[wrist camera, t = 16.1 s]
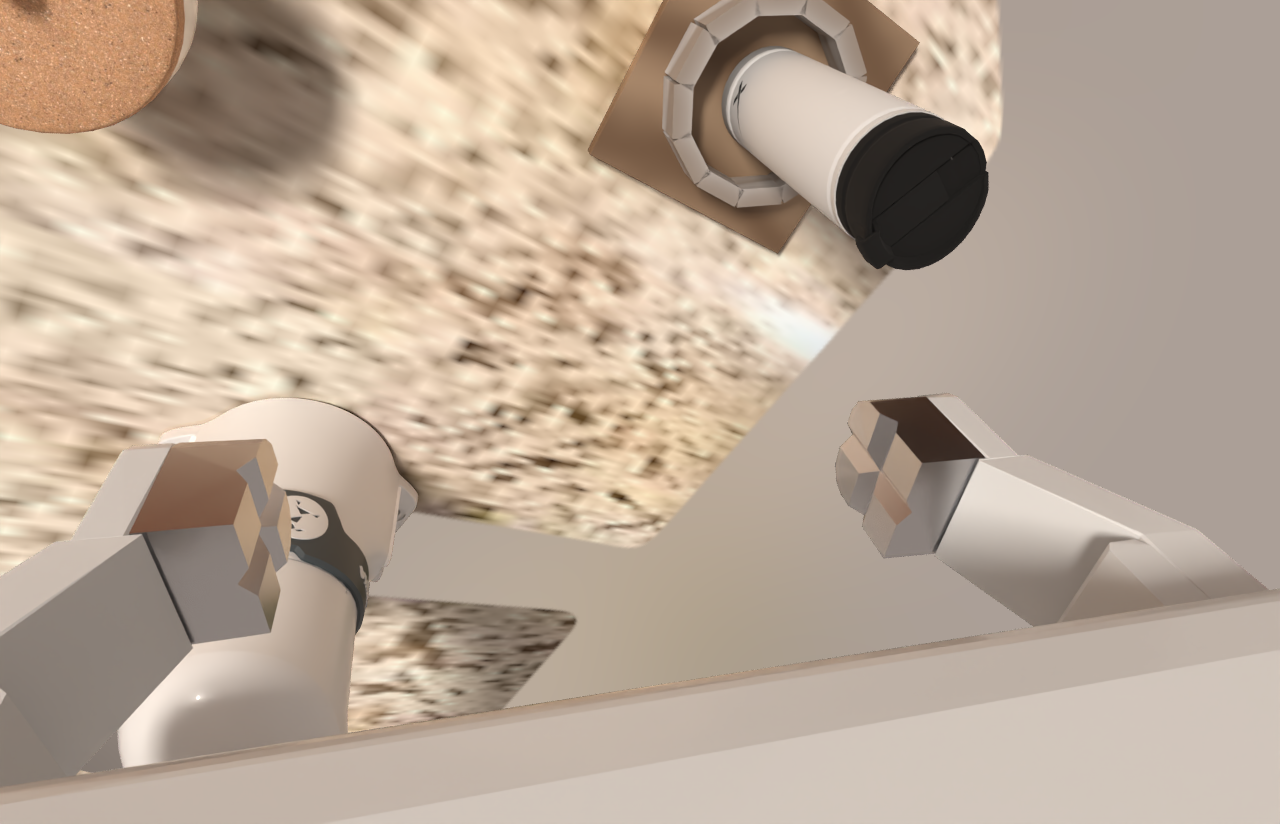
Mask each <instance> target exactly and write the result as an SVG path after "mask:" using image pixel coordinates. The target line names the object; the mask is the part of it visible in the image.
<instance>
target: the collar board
mask: <svg viewBox="0 0 1280 824" xmlns="http://www.w3.org/2000/svg"><path fill="white" fill-rule="evenodd" d="M919 43H920V42H918V41H917V40H916V39H915V38H913V37H912V36H911V35H910V34H908V33H907V32H906V31H905V30H903V29H902V28H901V27H900V26H898V25H897V24H896V23H895V22H893V21H892V20H891V19H890V18H889V17H887V16H886V15H885V14H884V13H882V12H881V11H880V10H879V9H877V8H876V7H875V6H874V5H872V4H871V3H870V2H869V1H867V0H663V2H662V4H661V6H660V8H659V10H658V12H657V14H656V16H655V18H654V20H653V22H652V24H651V26H650V28H649V30H648V32H647V34H646V36H645V38H644V40H643V42H642V44H641V46H640V48H639V49H638V51H637V53H636V55H635V57H634V59H633V61H632V63H631V65H630V67H629V69H628V71H627V73H626V75H625V77H624V79H623V81H622V83H621V85H620V87H619V89H618V91H617V93H616V95H615V97H614V99H613V101H612V103H611V105H610V107H609V109H608V111H607V113H606V115H605V117H604V119H603V121H602V123H601V125H600V127H599V129H598V131H597V133H596V135H595V137H594V139H593V141H592V143H591V145H590V147H589V149H588V152H589V153H590V155H592V156H594V157H596V158H598V159H599V160H601V161H603V162H605V163H607V164H609V165H611V166H613V167H615V168H616V169H618V170H620V171H622V172H624V173H626V174H628V175H630V176H632V177H634V178H635V179H637V180H639V181H641V182H643V183H645V184H647V185H649V186H651V187H653V188H654V189H656V190H658V191H660V192H662V193H664V194H666V195H668V196H670V197H671V198H673V199H675V200H677V201H679V202H681V203H683V204H685V205H687V206H689V207H690V208H692V209H694V210H696V211H698V212H700V213H702V214H704V215H706V216H708V217H709V218H711V219H713V220H715V221H717V222H719V223H721V224H723V225H725V226H726V227H728V228H730V229H732V230H734V231H736V232H738V233H740V234H742V235H744V236H745V237H747V238H749V239H751V240H753V241H755V242H757V243H759V244H761V245H763V246H764V247H766V248H768V249H770V250H772V251H774V252H776V253H778V252H779V251H780V250H781V248H782V247H783V245H784V244H785V242H786V241H787V239H788V238H789V236H790V235H791V233H792V232H793V230H794V229H795V227H796V226H797V224H798V223H799V221H800V220H801V218H802V217H803V215H804V214H805V212H806V211H807V209H808V208H809V206H810V205H811V203H809V202H808V201H807V200H806V199H805V198H803V197H802V196H801V195H800V194H799V193H798V192H796V191H795V190H794V189H793V188H792V187H790V186H789V185H788V184H787V183H786V182H784V181H783V180H782V179H781V178H780V177H779V176H777V175H776V174H775V173H774V172H773V171H771V170H770V169H769V168H768V167H767V166H765V165H764V164H763V163H762V162H761V161H759V160H758V159H757V158H756V157H755V156H754V155H752V154H751V153H750V152H749V151H748V150H746V149H745V148H744V147H743V146H742V145H740V144H739V143H738V142H737V141H736V140H734V138H733V137H732V136H731V135H730V134H729V132H728V130H727V128H726V126H725V124H724V120H723V117H722V107H721V104H722V95H723V91H724V88H725V84H726V82H727V80H728V78H729V76H730V74H731V73H732V71H733V70H734V68H735V67H736V65H737V64H738V63H739V62H740V61H741V60H742V59H743V58H745V57H746V56H747V55H749V54H750V53H752V52H754V51H756V50H758V49H760V48H764V47H768V46H781V47H785V48H789V49H791V50H793V51H796V52H798V53H800V54H802V55H805V56H807V57H809V58H811V59H813V60H816V61H818V62H820V63H822V64H825V65H827V66H829V67H831V68H833V69H836V70H838V71H840V72H842V73H845V74H847V75H849V76H851V77H854V78H856V79H858V80H860V81H862V82H865V83H867V84H869V85H871V86H874V87H876V88H878V89H880V90H882V91H885V92H887V91H888V89H889V88H890V86H891V85H892V83H893V82H894V80H895V79H896V77H897V76H898V74H899V73H900V71H901V70H902V68H903V67H904V65H905V64H906V62H907V61H908V59H909V58H910V56H911V55H912V53H913V52H914V51H915V49H916V48H917V46H918V45H919Z"/></svg>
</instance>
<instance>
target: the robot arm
mask: <svg viewBox="0 0 1280 824" xmlns="http://www.w3.org/2000/svg"><path fill="white" fill-rule="evenodd" d="M847 424H848V426H849V428H850V430H851V432H852V435H851V436H850V437H849V438H848V439H847V440H846V441H845V443H843V444H842V445H841V446H840V448H839V452H838V456H837V460H836V463H835V467H836V481H837V484H838V487H839V490H840V493H841V495H842V497H843V498H844V499H845V501H846V503H847V504H848V506H850V507H852V508H853V509H855V510H857V511H859V512H860V513H862V514H864V519H863V524H862V527H863V528H864V530H865V531H866V533H867V534H868V536H869V537H870V539H871V540H872V542H873V543H874V545H875V546H876V548H877V549H878V551H879V552H880V554H881V555H882V557H883V558H891V557H902V556H912V555H923V554H934V553H935V557H937V558H938V559H939V560H941V561H942V562H943V563H945V564H946V565H948V566H949V567H950V568H952V569H953V570H955V571H956V572H957V573H959V574H960V575H962V576H963V577H965V578H966V579H967V580H969V581H970V582H971V583H973V584H974V585H976V586H977V587H979V588H980V589H981V590H983V591H984V592H986V593H987V594H988V595H990V596H991V597H993V598H994V599H995V600H997V601H998V602H1000V603H1001V604H1003V605H1004V606H1005V607H1007V608H1008V609H1009V610H1011V611H1012V612H1014V613H1015V614H1017V615H1018V616H1019V617H1021V618H1022V619H1024V620H1025V621H1026V622H1028V623H1029V624H1030V625H1032V626H1033V627H1028V628H1022V629H1015V630H1010V631H1002V632H997V633H989V634H983V635H977V636H971V637H964V638H957V639H951V640H945V641H939V642H931V643H925V644H918V645H913V646H906V647H900V648H893V649H886V650H880V651H873V652H867V653H861V654H854V655H848V656H841V657H835V658H828V659H822V660H815V661H809V662H802V663H797V664H790V665H783V666H777V667H771V668H764V669H757V670H751V671H745V672H738V673H731V674H725V675H719V676H713V677H706V678H699V679H694V680H687V681H680V682H674V683H667V684H661V685H655V686H648V687H642V688H635V689H628V690H622V691H616V692H609V693H603V694H596V695H590V696H583V697H577V698H571V699H565V700H558V701H551V702H545V703H538V704H532V705H525V706H519V707H512V708H506V709H500V710H493V711H487V712H480V713H474V714H467V715H461V716H455V717H448V718H442V719H435V720H429V721H422V722H416V723H409V724H403V725H397V726H390V727H384V728H377V729H371V730H364V731H358V732H352V733H348V704H349V693H350V682H351V671H352V661H353V651H354V640H355V635H356V633H357V632H358V630H359V629H360V627H361V624H362V621H363V617H364V612H365V608H366V607H367V602H368V595H369V586H370V582H371V581H373V582H377V581H378V580H379V579H380V577H381V575H382V572H383V567H385V566H388V564H389V562H390V560H391V556H392V550H393V543H394V535H395V532H396V531H397V530H398V529H399V528H400V527H401V525H402V524H403V523H404V522H405V521H406V519H407V518H408V517H409V516H410V515H411V514H412V512H413V511H414V510H415V508H416V506H417V501H418V494H417V492H416V490H415V489H414V488H413V487H412V486H411V485H410V484H409V483H408V482H407V481H406V480H405V479H404V478H403V477H402V476H401V475H400V474H399V472H398V471H397V468H396V466H395V463H394V460H393V457H392V454H391V452H390V450H389V448H388V446H387V445H386V443H385V442H384V440H383V439H382V438H381V437H380V435H379V434H378V433H377V432H376V431H375V430H374V429H373V428H372V427H370V426H369V425H368V424H367V423H365V422H364V421H363V420H361V419H360V418H358V417H356V416H355V415H353V414H351V413H349V412H347V411H345V410H343V409H340V408H338V407H335V406H332V405H329V404H326V403H322V402H318V401H313V400H307V399H299V398H272V399H264V400H258V401H254V402H250V403H246V404H243V405H240V406H238V407H235V408H233V409H231V410H229V411H227V412H225V413H223V414H222V415H220V416H218V417H216V418H215V419H213V420H211V421H209V422H207V423H204V424H201V425H194V426H187V427H181V428H177V429H173V430H169V431H167V432H165V433H163V434H162V435H161V436H160V438H159V441H158V444H150V445H134V446H131V447H129V448H127V449H125V450H123V451H122V452H121V453H120V455H119V457H118V459H117V460H116V462H115V464H114V465H113V467H112V469H111V471H110V472H109V474H108V476H107V478H106V479H105V481H104V483H103V484H102V486H101V488H100V490H99V491H98V493H97V495H96V497H95V498H94V500H93V502H92V503H91V505H90V507H89V509H88V510H87V512H86V514H85V516H84V517H83V519H82V521H81V522H80V524H79V526H78V528H77V529H76V531H75V533H74V535H73V536H72V538H71V540H70V541H60V542H54V543H52V544H51V545H49V546H48V547H46V548H44V549H43V550H41V551H40V552H38V553H37V554H35V555H33V556H32V557H30V558H29V559H27V560H26V561H24V562H22V563H21V564H19V565H18V566H16V567H15V568H13V569H11V570H10V571H8V572H7V573H5V574H3V575H2V576H0V824H1280V589H1273V590H1269V589H1267V588H1266V587H1265V586H1264V585H1263V584H1261V583H1260V582H1259V581H1258V580H1257V579H1255V578H1254V577H1253V576H1252V575H1251V574H1250V573H1248V572H1247V571H1246V570H1245V569H1244V568H1242V567H1241V566H1240V565H1239V564H1238V563H1236V562H1235V561H1234V560H1233V559H1232V558H1231V557H1230V556H1228V555H1227V554H1226V553H1225V552H1224V551H1222V550H1221V549H1220V548H1219V547H1218V546H1216V545H1215V544H1214V543H1213V542H1212V541H1211V540H1209V539H1208V538H1207V537H1206V536H1205V535H1203V534H1202V533H1201V532H1200V531H1199V530H1197V529H1195V528H1193V527H1190V526H1188V525H1186V524H1184V523H1181V522H1179V521H1177V520H1174V519H1172V518H1170V517H1168V516H1165V515H1163V514H1161V513H1159V512H1156V511H1154V510H1152V509H1150V508H1147V507H1145V506H1143V505H1140V504H1138V503H1136V502H1133V501H1131V500H1129V499H1127V498H1124V497H1122V496H1120V495H1118V494H1115V493H1113V492H1111V491H1109V490H1106V489H1104V488H1102V487H1099V486H1097V485H1095V484H1093V483H1090V482H1088V481H1085V480H1083V479H1081V478H1079V477H1077V476H1074V475H1072V474H1070V473H1068V472H1065V471H1063V470H1061V469H1058V468H1056V467H1054V466H1052V465H1049V464H1047V463H1045V462H1042V461H1040V460H1038V459H1035V458H1033V457H1031V456H1028V455H1023V456H1019V455H1018V454H1016V453H1015V452H1014V450H1012V449H1011V448H1010V447H1009V446H1008V445H1007V444H1006V443H1005V442H1004V441H1003V440H1002V439H1001V438H1000V437H999V436H998V435H997V434H996V433H995V432H994V431H993V430H992V429H991V428H989V426H988V425H987V424H985V423H984V422H983V421H982V420H981V419H980V418H979V417H978V416H977V415H976V414H975V413H974V412H973V411H972V410H971V409H970V408H969V407H968V406H967V405H966V404H965V403H964V402H963V401H962V400H961V399H960V398H959V397H957V396H954V395H951V394H949V393H944V394H933V395H923V396H918V397H911V398H896V399H884V400H883V399H882V400H868V401H858V403H857V404H856V405H855V406H854V408H853V409H852V411H851V414H850V417H849V420H848V423H847ZM117 730H118V746H119V752H120V758H121V762H122V765H123V768H120V769H113V770H107V771H100V772H94V773H90V772H85V771H81V768H83V766H84V765H85V764H86V763H87V762H88V761H89V760H90V759H91V758H92V757H93V756H94V754H96V752H97V751H98V750H99V749H100V748H101V747H102V746H103V745H104V744H105V743H106V742H107V741H108V739H109V738H110V737H111V736H112V735H113V734H114V733H115V732H116V731H117Z"/></svg>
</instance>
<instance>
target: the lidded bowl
mask: <svg viewBox="0 0 1280 824" xmlns="http://www.w3.org/2000/svg"><path fill="white" fill-rule="evenodd" d="M197 13H198V0H0V124H3V125H6V126H10V127H13V128H17V129H23V130H29V131H35V132H41V133H63V134H70V133H79V132H88V131H94V130H98V129H101V128H105V127H108V126H112V125H115V124H117V123H119V122H121V121H123V120H125V119H127V118H129V117H131V116H133V115H134V114H136V113H137V112H138V111H140V110H141V109H142V108H143V107H145V106H146V105H147V104H149V103H150V102H151V101H152V100H154V99H155V97H156V96H157V95H158V94H159V92H160V91H161V90H162V89H163V88H164V86H165V85H166V84H167V83H168V82H169V81H170V80H171V78H172V77H173V76H174V75H175V74H176V72H177V71H178V70H179V68H180V66H181V65H182V63H183V61H184V59H185V57H186V55H187V53H188V51H189V49H190V47H191V44H192V41H193V37H194V34H195V30H196V24H197Z"/></svg>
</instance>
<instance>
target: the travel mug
mask: <svg viewBox="0 0 1280 824" xmlns="http://www.w3.org/2000/svg"><path fill="white" fill-rule="evenodd" d="M721 107H722V117H723V120H724V124H725V126H726V128H727V130H728V132H729V134H730V135H731V136H732V137H733V138H734V140H736V141H737V142H738V143H739V144H740V145H742V146H743V147H744V148H745V149H746V150H748V151H749V152H750V153H751V154H752V155H754V156H755V157H756V158H757V159H758V160H759V161H761V162H762V163H763V164H764V165H765V166H767V167H768V168H769V169H770V170H771V171H773V172H774V173H775V174H776V175H777V176H779V177H780V178H781V179H782V180H783V181H784V182H786V183H787V184H788V185H789V186H790V187H792V188H793V189H794V190H795V191H796V192H798V193H799V194H800V195H801V196H802V197H803V198H805V199H806V200H807V201H808V202H809V203H811V204H812V205H813V206H814V207H815V208H817V209H818V210H819V211H820V212H821V213H823V214H824V215H825V216H826V217H827V218H828V219H830V220H831V221H832V222H833V223H834V224H836V225H837V226H838V227H839V228H840V229H842V230H843V231H844V232H845V233H846V234H848V235H849V236H850V237H851V238H853V239H854V240H855V241H856V245H857V247H858V249H859V251H860V253H861V254H862V256H863V257H864V259H865V260H866V261H867V262H868V263H870V264H871V265H872V266H874V267H875V268H876V269H880V268H882V267H883V266H884V265H888V266H890V267H893V268H895V269H902V270H913V269H920V268H923V267H926V266H929V265H931V264H933V263H935V262H937V261H939V260H941V259H942V258H944V257H945V256H947V255H948V254H949V253H950V252H952V251H953V250H954V249H955V248H956V247H957V246H958V245H959V244H960V243H961V242H962V241H963V240H964V239H965V237H966V236H967V235H968V233H969V232H970V231H971V230H972V228H973V226H974V225H975V223H976V221H977V220H978V218H979V216H980V213H981V211H982V209H983V207H984V204H985V201H986V197H987V194H988V172H987V171H985V170H986V163H987V162H986V158H985V154H984V151H983V149H982V147H981V145H980V143H979V142H978V140H976V139H975V138H974V137H973V136H971V135H970V134H969V133H968V132H967V131H966V130H965V129H963V128H961V127H959V126H957V125H954V124H952V123H950V122H948V121H945V120H944V119H943V118H941V117H939V116H937V115H935V114H934V113H931V112H929V111H926V110H924V109H923V108H920V107H918V106H916V105H914V104H911V103H909V102H907V101H905V100H903V99H900V98H898V97H896V96H894V95H891V94H889V93H887V92H885V91H882V90H880V89H878V88H876V87H874V86H871V85H869V84H867V83H865V82H862V81H860V80H858V79H856V78H854V77H851V76H849V75H847V74H845V73H842V72H840V71H838V70H836V69H833V68H831V67H829V66H827V65H825V64H822V63H820V62H818V61H816V60H813V59H811V58H809V57H807V56H805V55H802V54H800V53H798V52H796V51H793V50H791V49H789V48H785V47H781V46H768V47H764V48H760V49H758V50H756V51H754V52H752V53H750V54H749V55H747V56H746V57H745V58H743V59H742V60H741V61H740V62H739V63H738V64H737V65H736V67H735V68H734V70H733V71H732V73H731V74H730V76H729V78H728V80H727V82H726V84H725V88H724V91H723V95H722V104H721Z"/></svg>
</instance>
